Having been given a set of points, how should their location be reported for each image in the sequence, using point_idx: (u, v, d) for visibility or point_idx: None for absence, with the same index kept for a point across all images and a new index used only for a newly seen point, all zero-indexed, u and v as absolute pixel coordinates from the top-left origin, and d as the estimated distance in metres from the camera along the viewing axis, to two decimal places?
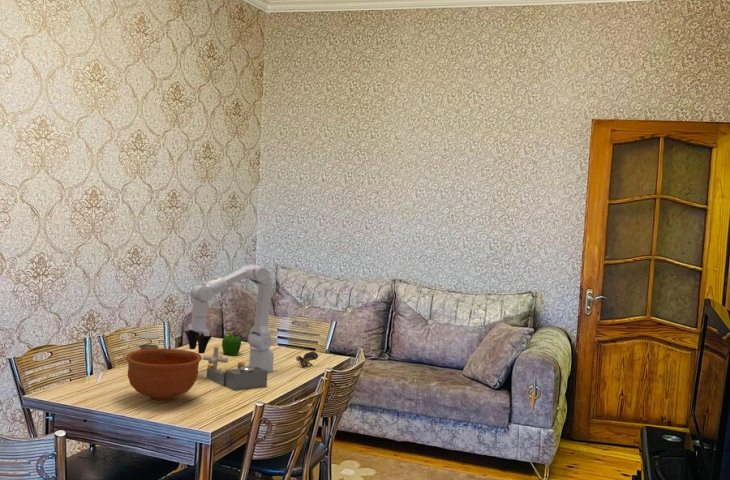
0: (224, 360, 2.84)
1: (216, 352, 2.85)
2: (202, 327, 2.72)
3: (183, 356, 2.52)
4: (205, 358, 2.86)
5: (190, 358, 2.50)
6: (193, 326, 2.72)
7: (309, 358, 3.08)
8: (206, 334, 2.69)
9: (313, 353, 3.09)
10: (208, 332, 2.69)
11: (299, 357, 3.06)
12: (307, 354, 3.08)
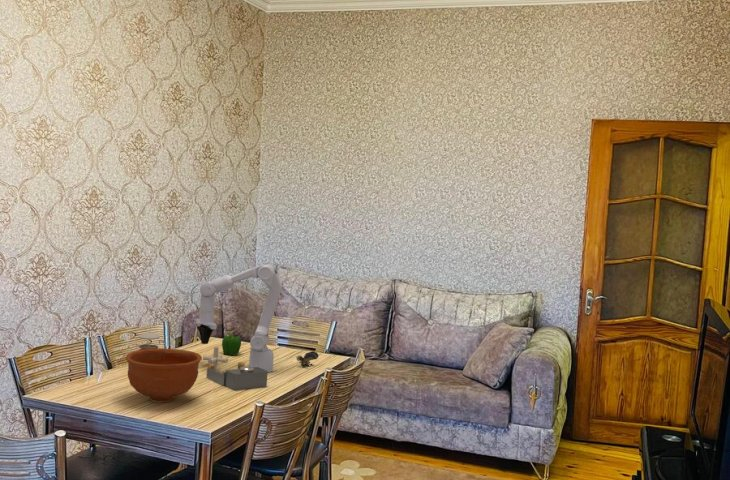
0: (224, 360, 2.84)
1: (216, 352, 2.85)
2: (209, 321, 2.91)
3: (183, 356, 2.52)
4: (205, 358, 2.86)
5: (190, 358, 2.50)
6: (201, 320, 2.90)
7: (309, 358, 3.09)
8: (213, 327, 2.87)
9: (313, 353, 3.10)
10: (215, 326, 2.88)
11: (299, 357, 3.07)
12: (307, 354, 3.09)
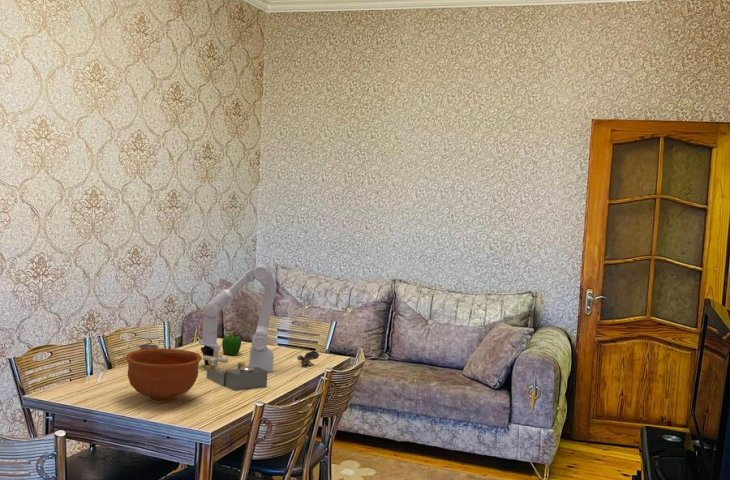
0: (224, 360, 2.84)
1: (216, 352, 2.85)
2: (213, 342, 2.88)
3: (183, 356, 2.52)
4: (205, 358, 2.86)
5: (190, 358, 2.50)
6: (204, 341, 2.88)
7: (310, 357, 3.10)
8: (216, 349, 2.85)
9: (314, 352, 3.11)
10: (218, 347, 2.85)
11: (300, 356, 3.07)
12: (308, 353, 3.10)
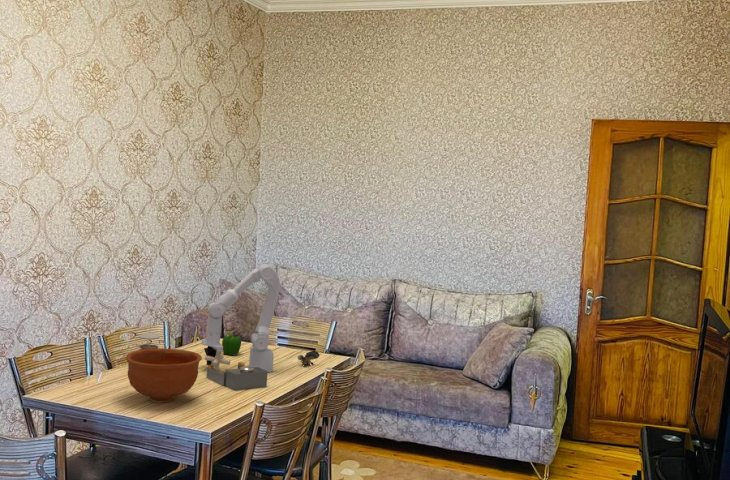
0: (227, 362, 2.83)
1: (219, 354, 2.83)
2: (216, 343, 2.85)
3: (183, 356, 2.52)
4: (207, 359, 2.84)
5: (190, 358, 2.50)
6: (207, 342, 2.85)
7: (310, 357, 3.10)
8: (219, 350, 2.82)
9: (314, 352, 3.11)
10: (221, 348, 2.82)
11: (301, 356, 3.08)
12: (308, 353, 3.10)
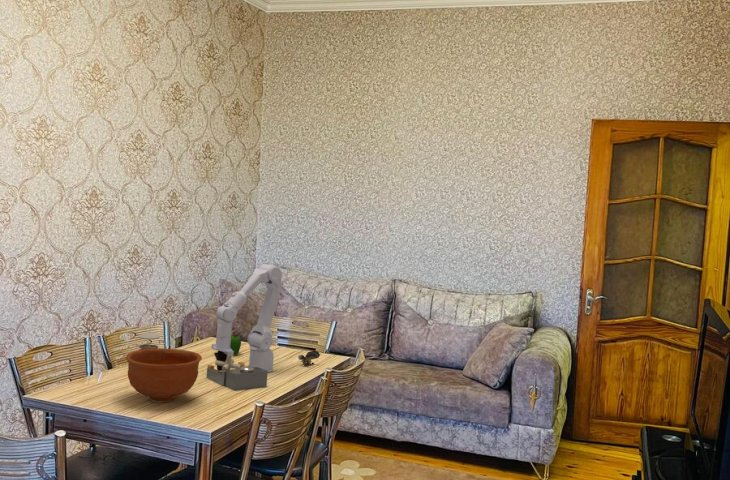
0: (237, 367, 2.76)
1: (229, 358, 2.76)
2: (226, 347, 2.79)
3: (183, 356, 2.52)
4: (217, 363, 2.77)
5: (190, 358, 2.50)
6: (217, 346, 2.78)
7: (311, 357, 3.11)
8: (230, 354, 2.75)
9: (315, 352, 3.12)
10: (232, 352, 2.76)
11: (301, 356, 3.09)
12: (309, 353, 3.11)
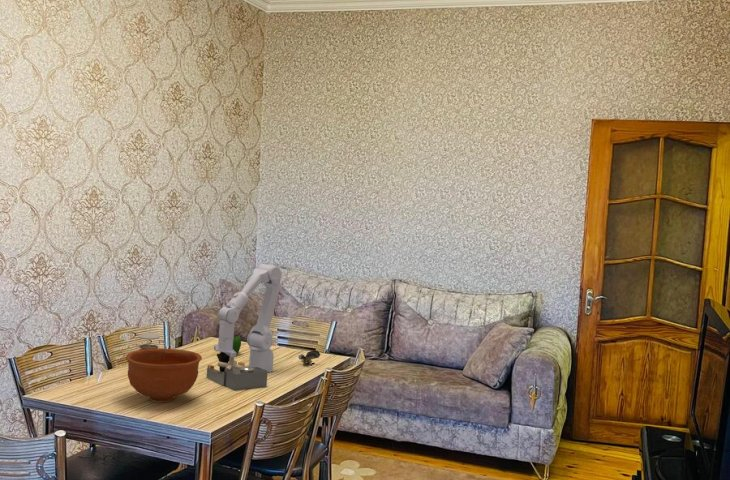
0: None
1: (232, 359, 2.75)
2: (229, 348, 2.77)
3: (183, 356, 2.52)
4: (220, 365, 2.76)
5: (190, 358, 2.50)
6: (220, 347, 2.77)
7: (311, 356, 3.12)
8: (233, 355, 2.74)
9: (315, 352, 3.13)
10: (235, 353, 2.74)
11: (302, 356, 3.09)
12: (309, 353, 3.11)
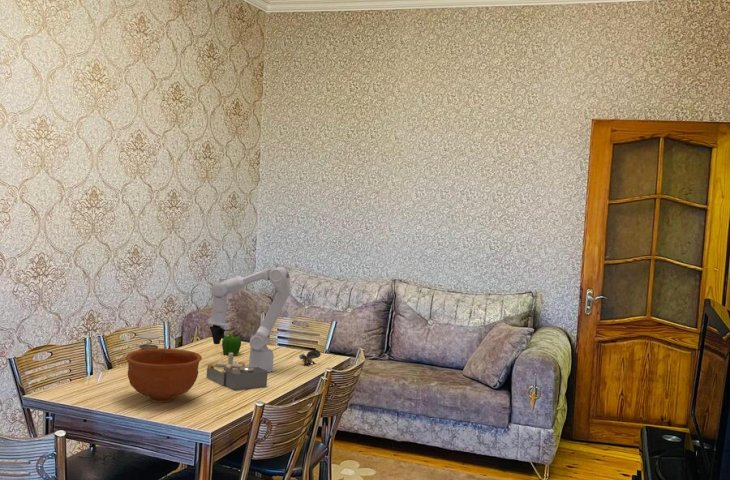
0: (240, 366, 2.75)
1: (231, 358, 2.76)
2: (222, 321, 2.92)
3: (183, 356, 2.52)
4: (219, 365, 2.76)
5: (190, 358, 2.50)
6: (213, 320, 2.92)
7: (312, 356, 3.13)
8: (226, 328, 2.88)
9: (316, 351, 3.14)
10: (228, 326, 2.89)
11: (302, 355, 3.10)
12: (310, 352, 3.12)
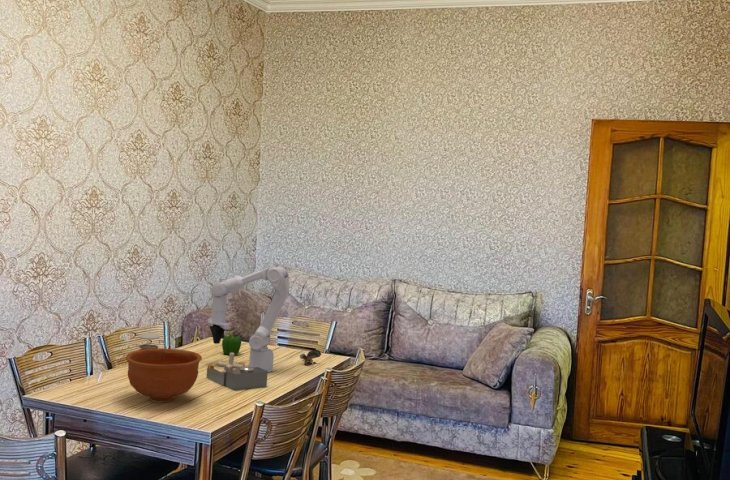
0: None
1: (232, 358, 2.76)
2: (221, 321, 2.93)
3: (183, 356, 2.52)
4: (220, 365, 2.76)
5: (190, 358, 2.50)
6: (213, 320, 2.93)
7: (312, 356, 3.13)
8: (225, 327, 2.90)
9: (316, 351, 3.14)
10: (227, 325, 2.90)
11: (303, 355, 3.11)
12: (310, 352, 3.13)
